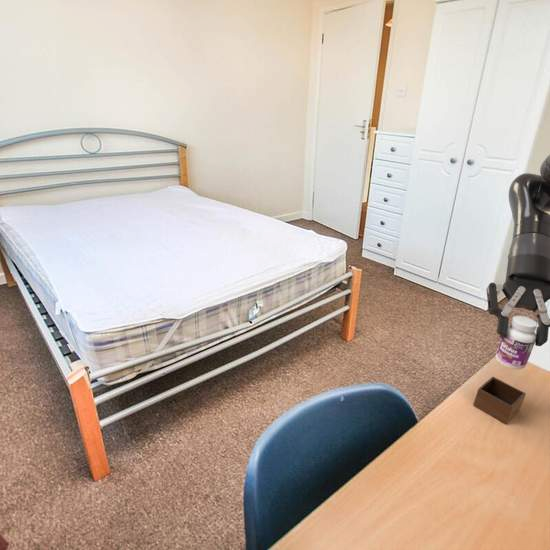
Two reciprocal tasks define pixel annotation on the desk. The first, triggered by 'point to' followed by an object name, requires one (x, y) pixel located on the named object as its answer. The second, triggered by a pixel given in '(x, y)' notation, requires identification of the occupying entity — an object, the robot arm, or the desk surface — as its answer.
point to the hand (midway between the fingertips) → (521, 340)
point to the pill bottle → (517, 343)
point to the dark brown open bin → (499, 399)
